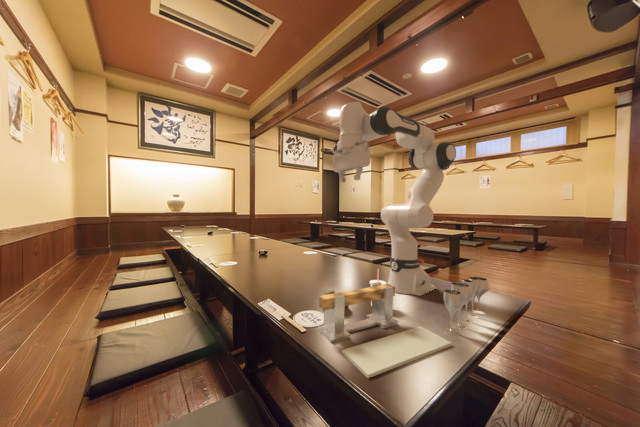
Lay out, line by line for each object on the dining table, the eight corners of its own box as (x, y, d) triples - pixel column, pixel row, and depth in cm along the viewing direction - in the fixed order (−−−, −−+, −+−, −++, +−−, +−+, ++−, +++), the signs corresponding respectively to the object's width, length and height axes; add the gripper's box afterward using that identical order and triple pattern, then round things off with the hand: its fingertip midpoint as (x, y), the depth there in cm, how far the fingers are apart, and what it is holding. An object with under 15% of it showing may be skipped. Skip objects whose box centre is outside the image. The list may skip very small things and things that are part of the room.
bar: (388, 293, 80) (388, 284, 80) (394, 295, 78) (395, 286, 78) (319, 306, 68) (319, 295, 68) (324, 310, 66) (324, 299, 66)
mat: (420, 328, 73) (420, 326, 73) (451, 345, 64) (451, 342, 64) (341, 353, 60) (341, 350, 60) (367, 378, 51) (367, 374, 51)
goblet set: (458, 338, 68) (459, 291, 67) (437, 330, 72) (438, 286, 72) (490, 312, 85) (491, 275, 85) (472, 307, 90) (473, 272, 90)
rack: (380, 314, 82) (381, 280, 82) (397, 324, 75) (398, 287, 75) (317, 329, 71) (318, 290, 71) (331, 343, 64) (332, 300, 64)
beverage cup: (389, 308, 88) (390, 270, 87) (374, 310, 86) (375, 271, 85) (379, 302, 93) (380, 266, 93) (366, 304, 91) (366, 267, 91)
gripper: (374, 139, 85) (374, 179, 85) (343, 151, 103) (342, 184, 104) (360, 137, 82) (359, 177, 83) (330, 149, 101) (329, 183, 101)
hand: (349, 181), depth 93 cm, fingers open, 8 cm apart
